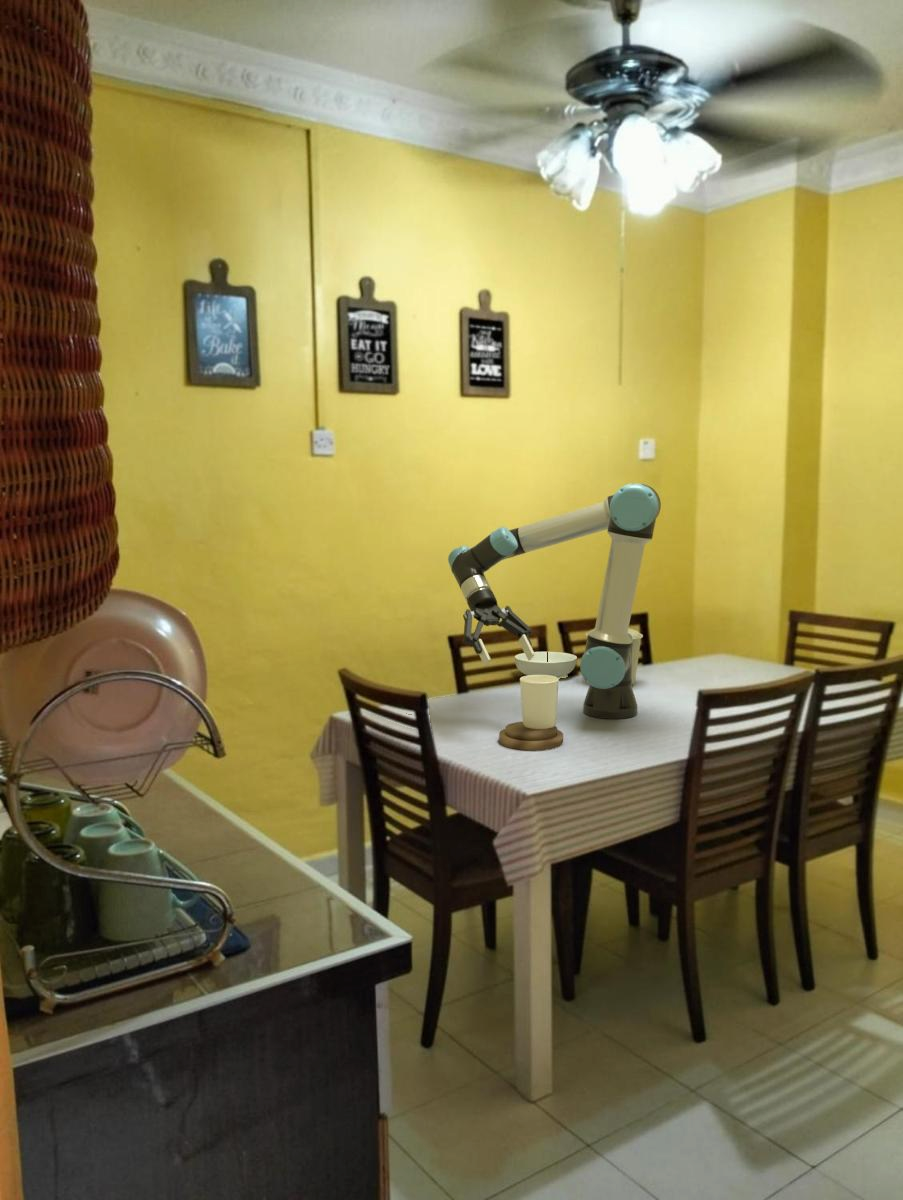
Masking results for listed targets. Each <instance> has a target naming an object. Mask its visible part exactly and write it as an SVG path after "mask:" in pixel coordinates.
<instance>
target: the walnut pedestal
mask: <svg viewBox="0 0 903 1200" xmlns="http://www.w3.org/2000/svg"><path fill="white" fill-rule="evenodd" d="M504 727H505V728H503V729H501V730H500V731H499V733H498V735H499V737H498V738H499V741H498V742H499V744H500V745H502V746H503V747H505V746H506V748H508V749H512V748H513V749H514V750H517V749H518V751H520V750H521V751H528V750H533V751H532V752H534V751H535V752H536V750H539V751H547V750H546V749H549V750H553V749H552V748H554V749H556V748H555V747H557V748H559V747H561V746H562V745H563V744H564V733H563V732H562V731H561V730H559V729H558V726H556V725H555V726H554V727H552V728H549V729H531V728H527V727H525V726H524V725H523V721H516V722H512V723H508V724H506V726H504ZM562 743H563V744H562ZM561 744H562V745H561ZM560 745H561V746H560ZM558 746H559V747H558Z"/></svg>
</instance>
